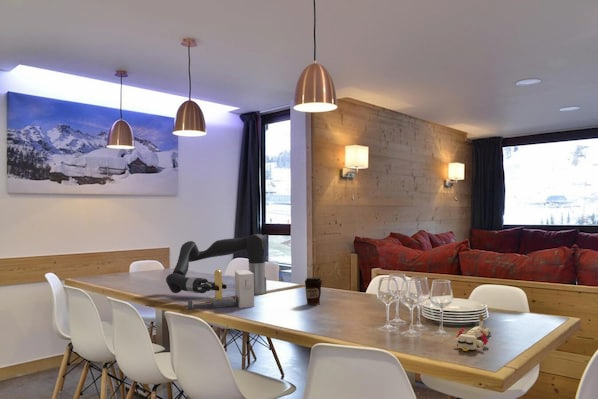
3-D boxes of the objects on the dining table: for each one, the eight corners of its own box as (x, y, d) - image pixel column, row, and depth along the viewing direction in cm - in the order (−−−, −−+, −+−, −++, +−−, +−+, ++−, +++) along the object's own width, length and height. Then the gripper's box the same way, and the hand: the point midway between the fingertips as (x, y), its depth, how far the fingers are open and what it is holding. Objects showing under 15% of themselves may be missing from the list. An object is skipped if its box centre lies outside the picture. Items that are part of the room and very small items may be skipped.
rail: (242, 303, 233) (241, 296, 233) (243, 305, 229) (243, 298, 230) (187, 308, 226) (187, 300, 226) (188, 310, 222) (188, 302, 222)
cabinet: (249, 301, 239) (248, 270, 240) (254, 307, 225) (253, 273, 226) (234, 302, 237) (233, 271, 237) (239, 308, 223) (238, 274, 223)
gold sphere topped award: (231, 303, 233) (231, 268, 234) (233, 306, 227) (233, 269, 227) (211, 304, 230) (211, 269, 231) (213, 307, 224) (212, 270, 224)
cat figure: (468, 336, 172) (448, 348, 151) (468, 312, 173) (448, 321, 152) (497, 340, 167) (480, 353, 146) (496, 315, 167) (480, 325, 147)
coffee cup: (320, 306, 223) (320, 279, 224) (303, 306, 225) (303, 279, 225) (323, 302, 232) (322, 276, 232) (307, 302, 233) (306, 276, 234)
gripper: (207, 290, 242) (232, 292, 233) (187, 295, 230) (212, 298, 221) (207, 275, 242) (232, 277, 233) (186, 279, 230) (212, 282, 221)
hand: (222, 287), depth 227 cm, fingers closed on gold sphere topped award, 4 cm apart
